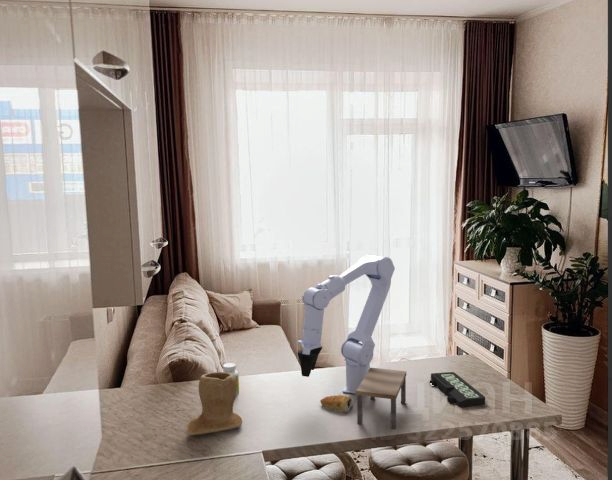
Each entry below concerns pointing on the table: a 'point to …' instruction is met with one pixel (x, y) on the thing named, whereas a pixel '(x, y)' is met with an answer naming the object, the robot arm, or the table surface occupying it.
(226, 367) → the supplement bottle
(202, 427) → the stone cup
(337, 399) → the pastry
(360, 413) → the wooden table
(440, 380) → the digital display
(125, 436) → the table surface
